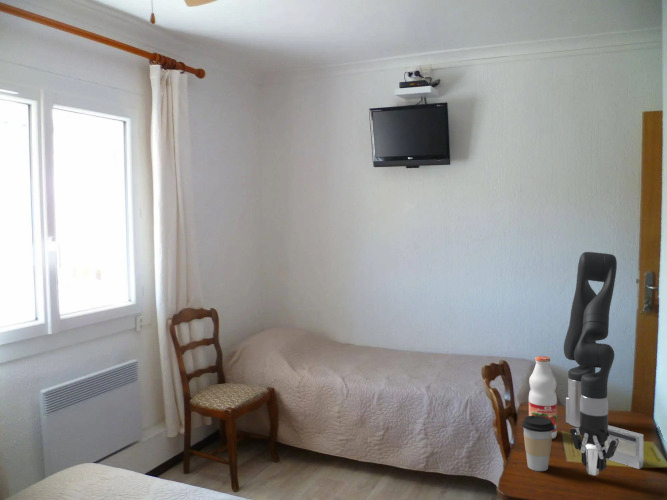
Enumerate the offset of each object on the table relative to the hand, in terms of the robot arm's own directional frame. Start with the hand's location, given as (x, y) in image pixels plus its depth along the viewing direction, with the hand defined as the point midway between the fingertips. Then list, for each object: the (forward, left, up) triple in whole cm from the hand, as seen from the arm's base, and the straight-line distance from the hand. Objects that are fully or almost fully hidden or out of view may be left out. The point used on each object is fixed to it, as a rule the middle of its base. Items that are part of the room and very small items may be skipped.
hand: (593, 467), depth 165 cm
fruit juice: (-28, +20, -4) cm, 35 cm away
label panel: (-2, +18, -4) cm, 18 cm away
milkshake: (0, 0, -2) cm, 2 cm away
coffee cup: (-15, -5, -4) cm, 16 cm away
